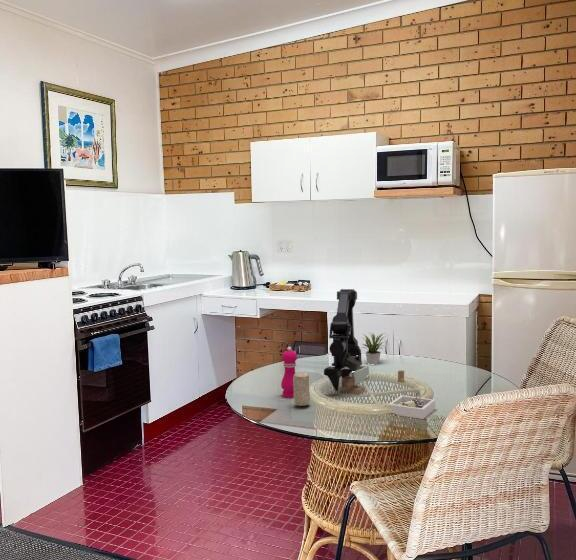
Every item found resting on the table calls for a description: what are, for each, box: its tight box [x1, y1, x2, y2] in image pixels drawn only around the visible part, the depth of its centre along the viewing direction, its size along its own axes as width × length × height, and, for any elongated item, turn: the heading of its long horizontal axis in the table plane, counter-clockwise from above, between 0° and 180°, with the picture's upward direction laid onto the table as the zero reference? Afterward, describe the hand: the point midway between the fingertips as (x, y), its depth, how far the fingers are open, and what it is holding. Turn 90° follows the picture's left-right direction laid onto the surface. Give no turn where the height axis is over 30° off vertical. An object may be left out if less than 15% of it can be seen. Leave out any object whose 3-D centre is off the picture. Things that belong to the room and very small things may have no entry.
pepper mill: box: [280, 346, 298, 399], centre depth 247 cm, size 7×7×20 cm
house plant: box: [361, 332, 387, 365], centre depth 296 cm, size 14×14×16 cm
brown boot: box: [341, 375, 366, 396], centre depth 250 cm, size 8×4×6 cm, turn 53°
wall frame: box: [359, 365, 405, 383], centre depth 267 cm, size 22×2×6 cm, turn 58°
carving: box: [293, 372, 311, 407], centre depth 234 cm, size 6×8×12 cm
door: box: [351, 365, 370, 386], centre depth 264 cm, size 14×1×6 cm, turn 146°
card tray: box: [387, 394, 436, 420], centre depth 224 cm, size 13×13×4 cm
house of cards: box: [412, 390, 426, 408], centre depth 226 cm, size 9×9×8 cm
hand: (341, 388), depth 252 cm, fingers open, 8 cm apart
